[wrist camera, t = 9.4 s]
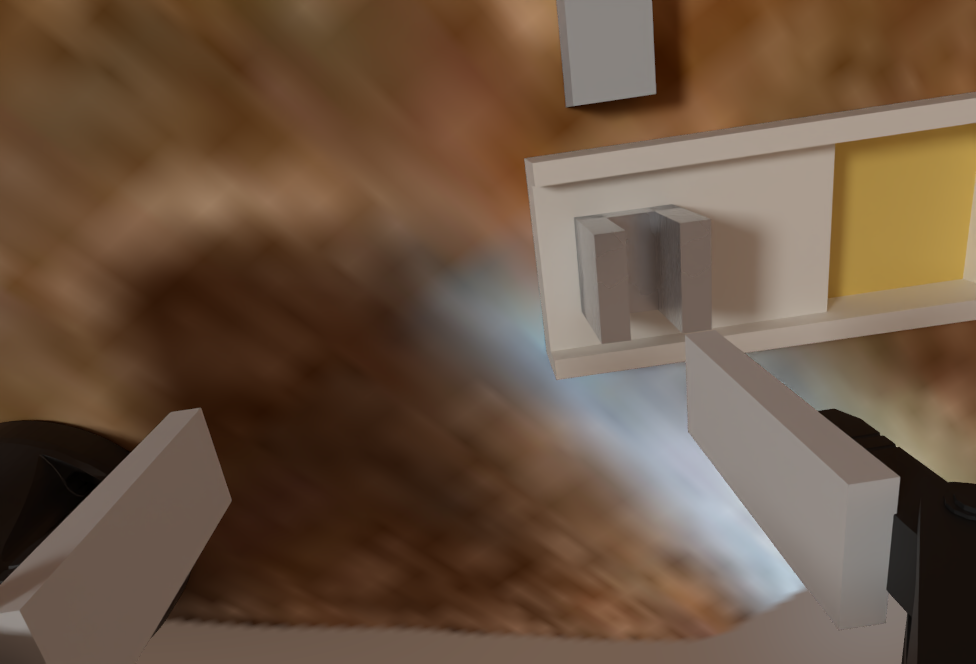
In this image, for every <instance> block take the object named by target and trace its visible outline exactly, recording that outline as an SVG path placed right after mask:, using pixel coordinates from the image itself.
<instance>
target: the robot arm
mask: <svg viewBox="0 0 976 664" xmlns="http://www.w3.org/2000/svg"><path fill="white" fill-rule="evenodd" d="M685 353H686V382H687V411H688V432H689V433H690V435H691V436H692V437H693V439H694V440H695V441H696V443H697V444H698V445H699V447H700V448H701V449H702V450H703V452H704V453H705V454H706V456H707V457H708V458H709V460H710V461H711V462H712V464H713V465H714V466H715V468H716V469H717V470H718V472H719V473H720V474H721V476H722V477H723V478H724V480H725V481H726V482H727V484H728V485H729V486H730V487H731V489H732V490H733V491H734V493H735V494H736V495H737V497H738V498H739V499H740V501H741V502H742V503H743V505H744V506H745V507H746V509H747V510H748V511H749V513H750V514H751V515H752V517H753V518H754V519H755V521H756V522H757V523H758V524H759V526H760V527H761V528H762V530H763V531H764V532H765V534H766V535H767V536H768V538H769V539H770V540H771V542H772V543H773V544H774V546H775V547H776V548H777V550H778V551H779V552H780V554H781V555H782V556H783V558H784V559H785V560H786V561H787V563H788V564H789V565H790V567H791V568H792V569H793V571H794V572H795V573H796V575H797V576H798V577H799V579H800V580H801V581H802V583H803V584H804V585H805V587H806V588H807V589H808V591H809V592H810V593H811V594H812V596H813V597H814V598H815V600H816V601H817V602H818V604H819V605H820V606H821V608H822V609H823V610H824V612H825V613H826V614H827V615H828V617H829V618H830V620H831V621H832V622H833V623H834V625H835V626H836V627H837V629H838V630H844V629H851V628H858V627H864V626H871V625H877V624H883V623H886V614H887V605H888V595H889V593H890V594H891V596H892V597H893V598H894V599H895V600H896V601H897V602H898V603H899V604H900V605H901V606H902V607H903V609H904V610H905V611H906V612H907V621H906V629H905V638H904V648H903V656H902V664H976V484H972V483H961V482H947V481H945V480H944V479H943V478H941V477H940V476H938V475H937V474H936V473H934V472H933V471H932V470H930V469H929V468H927V467H926V466H925V465H923V464H922V463H921V462H919V461H918V460H916V459H915V458H914V457H912V456H911V455H910V454H908V453H907V452H905V451H904V450H903V449H901V448H900V447H896V446H895V444H894V443H893V442H892V441H890V440H889V439H888V438H886V437H885V436H880V433H879V432H878V431H877V430H875V429H874V428H872V427H871V426H870V425H868V424H867V423H866V422H864V421H863V420H862V419H860V418H857V417H854V416H852V415H849V414H847V413H844V412H842V411H839V410H837V409H829V410H822V411H817V410H815V409H814V408H813V407H812V406H810V405H809V404H808V403H807V402H805V401H804V400H803V399H801V398H800V397H799V396H798V395H796V394H795V393H794V392H793V391H791V390H790V389H789V388H788V387H786V386H785V385H784V384H783V383H781V382H780V381H779V380H778V379H776V378H775V377H774V376H772V375H771V374H770V373H769V372H767V371H766V370H765V369H764V368H762V367H761V366H760V365H759V364H757V363H756V362H755V361H754V360H752V359H751V358H750V357H749V356H747V355H746V354H745V353H744V352H742V351H741V350H740V349H738V348H737V347H736V346H735V345H733V344H732V343H731V342H730V341H728V340H727V339H726V338H725V337H723V336H722V335H721V334H720V333H718V332H717V331H716V330H712V331H705V332H699V333H692V334H685ZM231 501H232V499H231V496H230V493H229V490H228V487H227V484H226V481H225V478H224V475H223V472H222V469H221V466H220V463H219V460H218V457H217V454H216V451H215V448H214V445H213V442H212V439H211V436H210V433H209V430H208V427H207V424H206V421H205V418H204V415H203V412H202V409H201V408H195V409H188V410H181V411H175V412H170V413H169V414H168V415H167V416H166V417H165V418H164V419H163V420H162V421H161V422H160V423H159V424H158V425H157V426H156V427H155V428H154V429H153V430H152V431H151V433H150V434H149V435H148V436H147V437H146V438H145V439H144V440H143V441H142V442H141V443H140V444H139V445H138V446H137V447H136V448H135V449H134V450H133V451H132V452H131V453H130V452H128V451H126V450H125V449H123V448H122V447H120V446H118V445H116V444H114V443H113V442H111V441H109V440H107V439H104V438H102V437H100V436H98V435H95V434H93V433H90V432H87V431H84V430H81V429H78V428H74V427H71V426H66V425H62V424H57V423H50V422H41V421H11V422H2V423H0V664H136V662H137V660H138V658H139V657H140V655H141V653H142V652H143V650H144V648H145V647H146V645H147V643H148V642H149V640H150V638H151V637H152V636H153V635H154V634H155V633H156V632H157V631H158V630H159V628H160V627H161V626H162V625H163V623H164V622H165V621H166V619H167V617H168V616H169V614H170V612H171V611H172V609H173V607H174V606H175V604H176V602H177V601H178V599H179V597H180V596H181V594H182V592H183V591H184V589H185V586H186V584H187V582H188V579H189V576H190V572H191V569H192V567H193V566H194V564H195V562H196V561H197V559H198V557H199V555H200V554H201V552H202V550H203V549H204V547H205V545H206V544H207V542H208V540H209V539H210V537H211V535H212V534H213V532H214V530H215V528H216V527H217V525H218V523H219V522H220V520H221V518H222V517H223V515H224V513H225V512H226V510H227V508H228V507H229V505H230V503H231Z"/></svg>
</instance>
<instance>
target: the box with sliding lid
mask: <svg viewBox="0 0 976 664" xmlns="http://www.w3.org/2000/svg"><path fill="white" fill-rule="evenodd" d="M524 160H525V169H526V177H527V186H528V195H529V203H530V212H531V221H532V229H533V238H534V247H535V255H536V264H537V273H538V281H539V290H540V299H541V307H542V316H543V325H544V333H545V342H546V351H547V355H548V358H549V360H550V363H551V366H552V369H553V372H554V374H555V377H556V380H559V379H566V378H573V377H580V376H587V375H594V374H601V373H608V372H615V371H622V370H629V369H636V368H643V367H650V366H657V365H664V364H671V363H678V362H685V361H686V353H685V334H692V333H699V332H705V331H712V330H716V331H717V332H718V333H720V334H721V335H722V336H723V337H725V338H726V339H727V340H728V341H730V342H731V343H732V344H733V345H735V346H736V347H737V348H738V349H740V350H741V351H742V352H744V353H748V352H755V351H762V350H769V349H776V348H783V347H790V346H797V345H804V344H811V343H818V342H825V341H832V340H838V339H845V338H852V337H859V336H866V335H873V334H880V333H887V332H894V331H901V330H908V329H915V328H922V327H929V326H936V325H943V324H950V323H957V322H964V321H971V320H976V92H972V93H965V94H958V95H952V96H945V97H938V98H931V99H924V100H918V101H911V102H904V103H897V104H891V105H884V106H877V107H870V108H863V109H857V110H850V111H843V112H836V113H829V114H823V115H816V116H809V117H802V118H796V119H789V120H782V121H775V122H768V123H762V124H755V125H748V126H741V127H735V128H728V129H721V130H714V131H707V132H701V133H694V134H687V135H680V136H673V137H667V138H660V139H653V140H646V141H640V142H633V143H626V144H619V145H612V146H606V147H599V148H592V149H585V150H578V151H572V152H565V153H558V154H551V155H545V156H538V157H531V158H524ZM669 204H674V205H676V206H679V207H682V208H684V209H687V210H689V211H692V212H694V213H697V214H700V215H702V216H705V217H707V218H710V219H711V269H712V330H705V331H698V332H690V333H683V334H682V333H681V332H680V331H679V330H678V329H677V328H676V327H675V326H674V325H673V324H672V323H671V322H670V321H669V320H668V319H667V318H666V317H665V316H664V315H663V314H662V313H661V312H660V311H659V310H652V311H645V312H637V313H630V329H631V340H630V341H622V342H615V343H607V344H601V342H600V341H599V339H598V337H597V336H596V334H595V332H594V331H593V329H592V328H591V326H590V324H589V323H588V321H587V320H586V318H585V316H584V315H583V313H582V311H581V299H580V286H579V274H578V262H577V249H576V237H575V224H574V217H580V216H588V215H595V214H603V213H610V212H617V211H625V210H632V209H640V208H647V207H655V206H662V205H669Z"/></svg>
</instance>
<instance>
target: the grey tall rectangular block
mask: <svg viewBox="0 0 976 664" xmlns="http://www.w3.org/2000/svg"><path fill="white" fill-rule="evenodd" d="M556 1H557V12H558V23H559V34H560V45H561V56H562V67H563V78H564V89H565V100H566V107H571V106H578V105H585V104H591V103H598V102H605V101H612V100H618V99H625V98H632V97H639V96H645V95H652V94H656V81H655V58H654V35H653V12H652V0H556Z"/></svg>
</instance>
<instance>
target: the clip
mask: <svg viewBox="0 0 976 664" xmlns="http://www.w3.org/2000/svg"><path fill="white" fill-rule="evenodd" d="M574 224H575V237H576V249H577V262H578V274H579V286H580V299H581V311H582V313H583V315H584V316H585V318H586V320H587V321H588V323H589V324H590V326H591V328H592V329H593V331H594V332H595V334H596V336H597V337H598V339H599V341H600V342H601V344H607V343H615V342H622V341H630V340H631V329H630V313H637V312H645V311H652V310H659V311H660V312H661V313H662V314H663V315H664V316H665V317H666V318H667V319H668V320H669V321H670V322H671V323H672V324H673V325H674V326H675V327H676V328H677V329H678V330H679V331H680V332H681V333H682V334H683V333H690V332H698V331H705V330H712V269H711V219H710V218H707V217H705V216H702V215H700V214H697V213H694V212H692V211H689V210H687V209H684V208H682V207H679V206H676V205H674V204H669V205H662V206H655V207H647V208H640V209H632V210H625V211H617V212H610V213H603V214H595V215H588V216H580V217H574Z"/></svg>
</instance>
